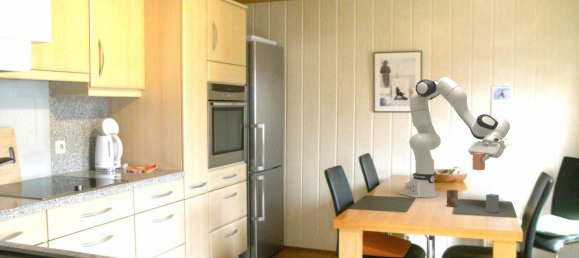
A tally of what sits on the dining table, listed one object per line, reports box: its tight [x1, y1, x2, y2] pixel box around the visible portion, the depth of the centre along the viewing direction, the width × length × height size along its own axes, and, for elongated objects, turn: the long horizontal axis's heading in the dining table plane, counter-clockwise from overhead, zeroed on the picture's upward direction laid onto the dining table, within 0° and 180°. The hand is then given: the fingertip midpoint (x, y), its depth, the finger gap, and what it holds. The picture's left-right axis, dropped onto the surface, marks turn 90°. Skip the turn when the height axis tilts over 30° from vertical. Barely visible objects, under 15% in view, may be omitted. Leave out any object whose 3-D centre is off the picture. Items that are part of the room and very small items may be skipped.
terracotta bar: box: [472, 153, 486, 171], centre depth 281 cm, size 4×4×9 cm
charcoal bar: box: [485, 193, 500, 214], centre depth 268 cm, size 4×4×9 cm
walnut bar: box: [446, 188, 459, 208], centre depth 283 cm, size 4×4×9 cm
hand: (477, 160), depth 281 cm, fingers closed on terracotta bar, 4 cm apart
